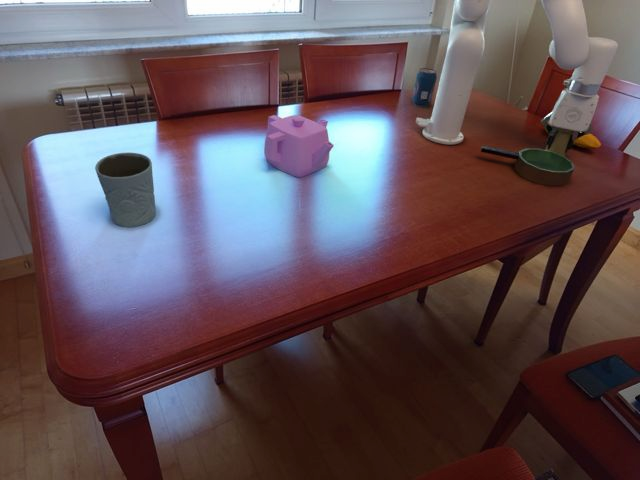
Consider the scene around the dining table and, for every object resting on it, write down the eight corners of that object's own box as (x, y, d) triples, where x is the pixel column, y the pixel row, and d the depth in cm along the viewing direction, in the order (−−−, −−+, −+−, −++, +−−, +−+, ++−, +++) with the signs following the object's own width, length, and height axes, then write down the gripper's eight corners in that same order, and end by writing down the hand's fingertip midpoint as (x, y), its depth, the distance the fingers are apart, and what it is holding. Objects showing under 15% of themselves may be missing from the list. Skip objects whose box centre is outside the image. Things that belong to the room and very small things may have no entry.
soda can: (410, 100, 162) (417, 66, 155) (429, 102, 162) (436, 68, 155) (411, 106, 157) (418, 72, 149) (431, 108, 156) (439, 74, 149)
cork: (567, 156, 131) (583, 121, 125) (560, 162, 128) (576, 126, 121) (547, 149, 135) (561, 114, 128) (540, 154, 131) (554, 119, 124)
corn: (559, 107, 143) (615, 131, 129) (551, 129, 148) (604, 154, 134) (543, 111, 141) (598, 136, 127) (536, 133, 146) (588, 159, 132)
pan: (475, 169, 120) (480, 155, 117) (480, 150, 130) (484, 136, 128) (569, 190, 114) (576, 176, 111) (565, 168, 124) (572, 155, 122)
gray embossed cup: (137, 198, 96) (127, 147, 89) (171, 213, 92) (163, 162, 85) (97, 218, 89) (82, 165, 81) (132, 236, 85) (119, 182, 78)
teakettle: (265, 147, 121) (265, 103, 113) (326, 150, 122) (330, 107, 115) (262, 177, 107) (262, 130, 100) (330, 180, 109) (335, 133, 101)
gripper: (551, 85, 118) (527, 147, 129) (619, 97, 114) (588, 160, 125) (550, 78, 124) (527, 138, 135) (614, 89, 120) (585, 150, 131)
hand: (556, 148), depth 130 cm, fingers closed on cork, 4 cm apart
